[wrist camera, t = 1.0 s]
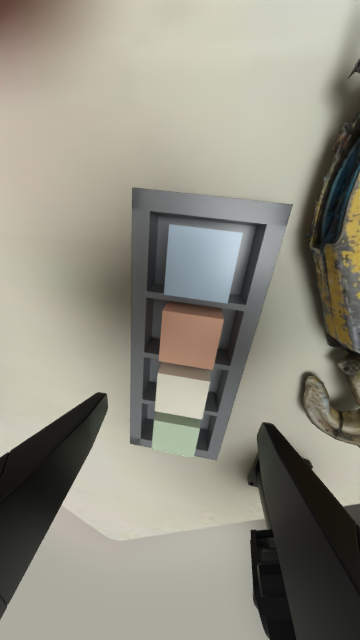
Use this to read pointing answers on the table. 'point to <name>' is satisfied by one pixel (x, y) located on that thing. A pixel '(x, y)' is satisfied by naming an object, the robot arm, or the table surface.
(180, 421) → the key sage
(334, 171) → the pulley block
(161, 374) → the key cream
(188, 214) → the gray cubby shelf
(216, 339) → the key terracotta
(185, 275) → the key blue
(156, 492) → the table surface
